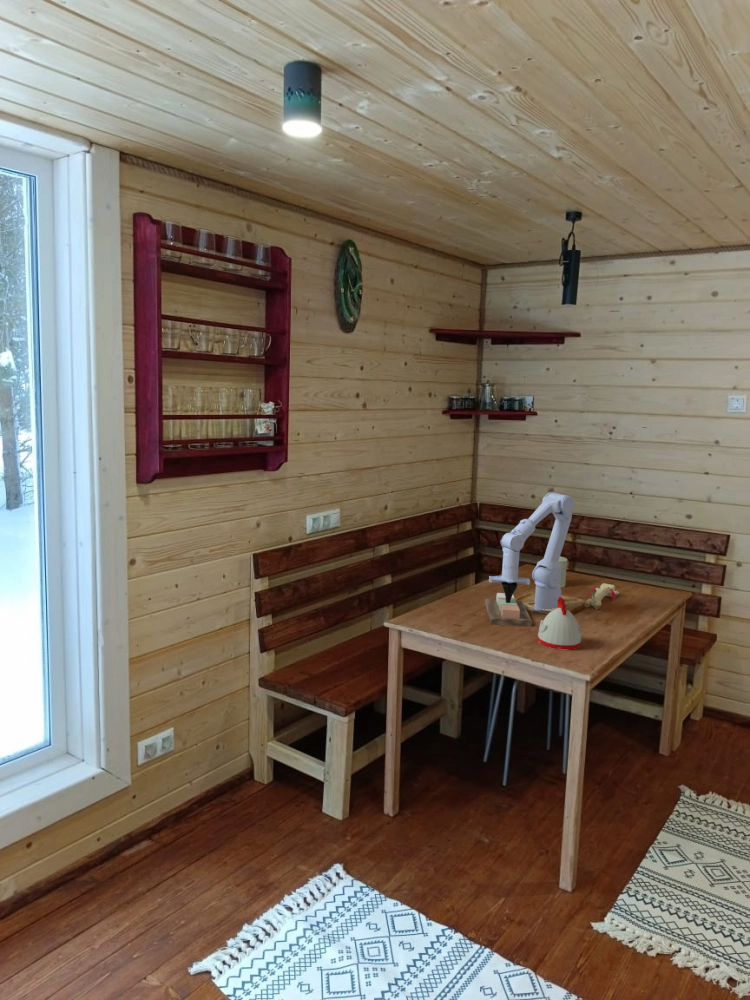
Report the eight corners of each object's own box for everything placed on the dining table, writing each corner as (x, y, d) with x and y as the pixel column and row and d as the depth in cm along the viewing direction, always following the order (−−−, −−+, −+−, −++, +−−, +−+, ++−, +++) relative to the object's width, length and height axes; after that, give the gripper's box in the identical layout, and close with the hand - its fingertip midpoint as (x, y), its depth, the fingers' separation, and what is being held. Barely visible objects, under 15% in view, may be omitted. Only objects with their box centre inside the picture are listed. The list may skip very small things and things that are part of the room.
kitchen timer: (573, 635, 256) (577, 593, 253) (586, 650, 242) (590, 605, 240) (533, 635, 255) (536, 592, 253) (543, 649, 242) (547, 604, 239)
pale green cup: (567, 588, 315) (570, 560, 313) (545, 587, 314) (548, 559, 313) (562, 582, 324) (564, 555, 322) (540, 581, 324) (543, 554, 322)
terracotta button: (517, 614, 271) (517, 605, 271) (519, 620, 265) (520, 610, 265) (500, 613, 272) (501, 604, 271) (502, 619, 266) (502, 609, 265)
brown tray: (521, 605, 288) (522, 600, 287) (531, 626, 264) (531, 620, 264) (485, 603, 288) (485, 598, 288) (490, 624, 265) (491, 618, 264)
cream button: (512, 602, 286) (512, 593, 285) (514, 607, 280) (514, 598, 280) (496, 601, 286) (496, 592, 286) (497, 606, 280) (498, 597, 280)
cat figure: (604, 614, 286) (622, 594, 306) (605, 592, 284) (623, 574, 304) (578, 609, 291) (597, 589, 312) (579, 587, 289) (599, 569, 309)
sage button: (514, 609, 279) (515, 600, 278) (516, 614, 273) (517, 605, 272) (498, 608, 279) (498, 599, 278) (499, 613, 273) (500, 604, 272)
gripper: (491, 567, 269) (488, 604, 272) (532, 570, 269) (529, 606, 271) (489, 563, 276) (487, 598, 279) (529, 565, 276) (526, 600, 278)
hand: (507, 602), depth 275 cm, fingers closed, pressing on sage button
